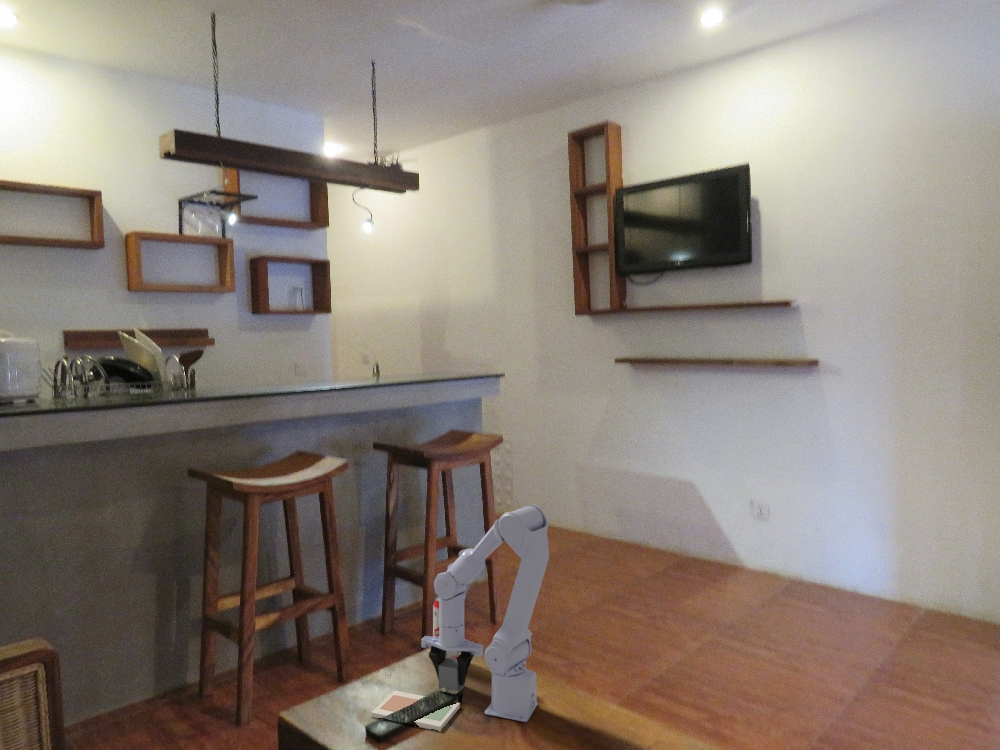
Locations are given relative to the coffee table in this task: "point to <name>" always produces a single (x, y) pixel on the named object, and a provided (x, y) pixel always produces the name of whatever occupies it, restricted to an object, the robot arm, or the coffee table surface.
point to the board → (403, 699)
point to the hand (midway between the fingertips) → (451, 681)
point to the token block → (449, 675)
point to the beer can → (436, 627)
